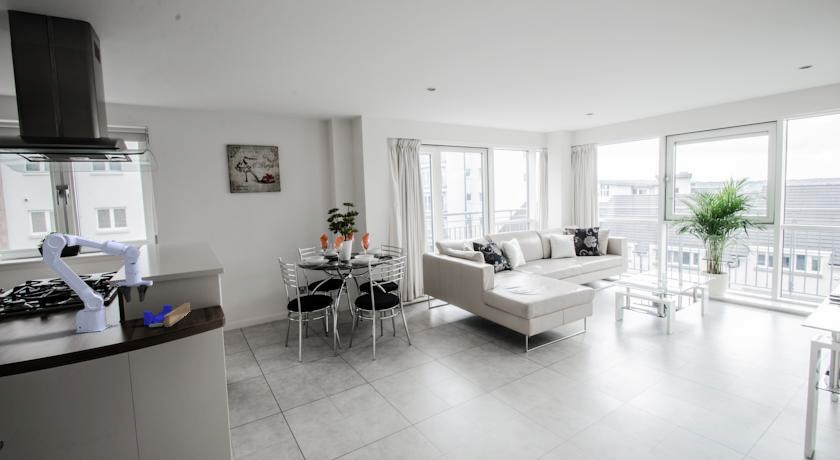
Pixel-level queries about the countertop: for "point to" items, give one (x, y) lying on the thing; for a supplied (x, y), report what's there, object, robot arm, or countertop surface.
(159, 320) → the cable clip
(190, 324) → the countertop surface
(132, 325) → the countertop surface
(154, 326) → the mounting rail
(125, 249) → the robot arm
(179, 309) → the backboard
